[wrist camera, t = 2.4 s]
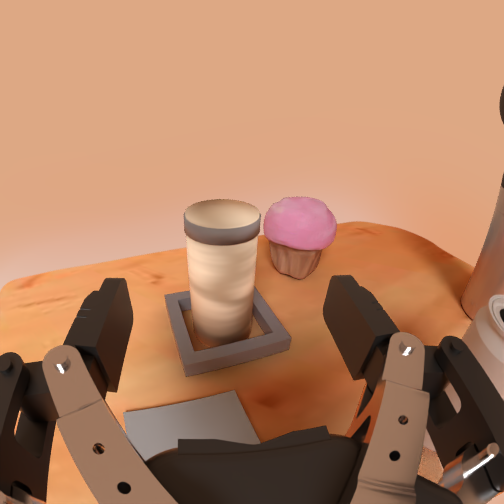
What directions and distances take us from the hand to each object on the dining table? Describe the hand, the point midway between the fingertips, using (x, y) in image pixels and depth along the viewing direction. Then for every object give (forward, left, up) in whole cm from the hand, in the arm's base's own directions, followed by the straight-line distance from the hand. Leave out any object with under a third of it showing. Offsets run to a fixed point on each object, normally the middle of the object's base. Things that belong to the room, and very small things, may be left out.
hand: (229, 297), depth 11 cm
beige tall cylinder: (-3, -11, -13) cm, 17 cm away
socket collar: (-3, -11, -13) cm, 17 cm away
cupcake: (-15, -18, -13) cm, 27 cm away
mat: (+3, +1, -13) cm, 13 cm away
